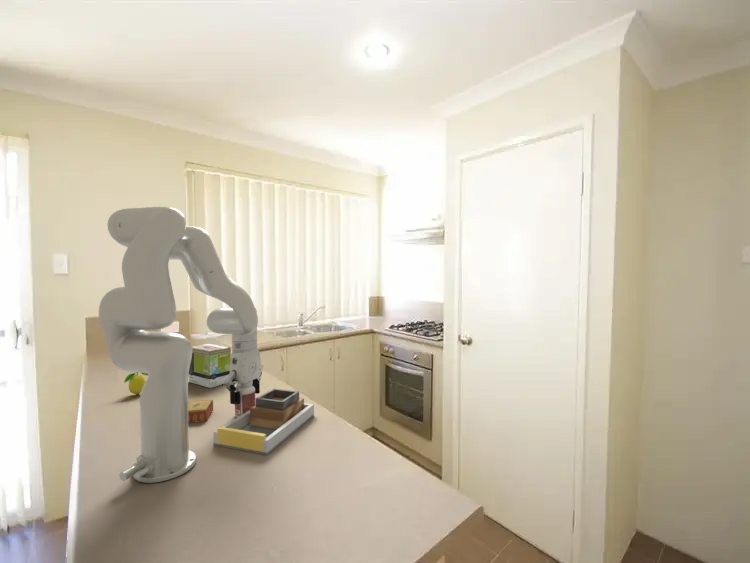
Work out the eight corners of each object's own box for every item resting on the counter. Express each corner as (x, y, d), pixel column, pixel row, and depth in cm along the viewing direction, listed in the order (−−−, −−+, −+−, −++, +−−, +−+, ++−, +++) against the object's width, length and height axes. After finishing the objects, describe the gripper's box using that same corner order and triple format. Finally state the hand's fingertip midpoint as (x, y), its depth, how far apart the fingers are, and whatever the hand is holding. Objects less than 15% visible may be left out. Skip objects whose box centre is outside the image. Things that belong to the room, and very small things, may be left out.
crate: (283, 430, 99) (283, 404, 99) (250, 425, 103) (249, 399, 102) (303, 413, 111) (303, 390, 111) (273, 409, 114) (273, 386, 114)
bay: (267, 455, 88) (267, 436, 88) (213, 445, 93) (213, 427, 92) (313, 415, 112) (313, 401, 111) (269, 409, 116) (269, 395, 116)
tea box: (231, 382, 145) (231, 346, 144) (209, 389, 136) (208, 351, 136) (210, 376, 153) (209, 342, 152) (187, 382, 144) (187, 346, 144)
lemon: (152, 392, 132) (152, 366, 132) (140, 398, 126) (140, 370, 126) (136, 391, 133) (135, 365, 133) (123, 397, 127) (122, 369, 127)
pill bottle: (258, 410, 115) (257, 377, 115) (252, 418, 109) (251, 383, 109) (238, 410, 115) (238, 377, 115) (231, 418, 109) (231, 383, 109)
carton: (206, 422, 107) (206, 408, 107) (148, 427, 104) (147, 413, 104) (213, 411, 115) (213, 398, 115) (159, 415, 112) (159, 402, 112)
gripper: (236, 352, 102) (237, 410, 103) (270, 340, 119) (271, 390, 119) (215, 350, 104) (216, 407, 105) (251, 339, 121) (252, 388, 122)
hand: (245, 398), depth 112 cm, fingers open, 9 cm apart
